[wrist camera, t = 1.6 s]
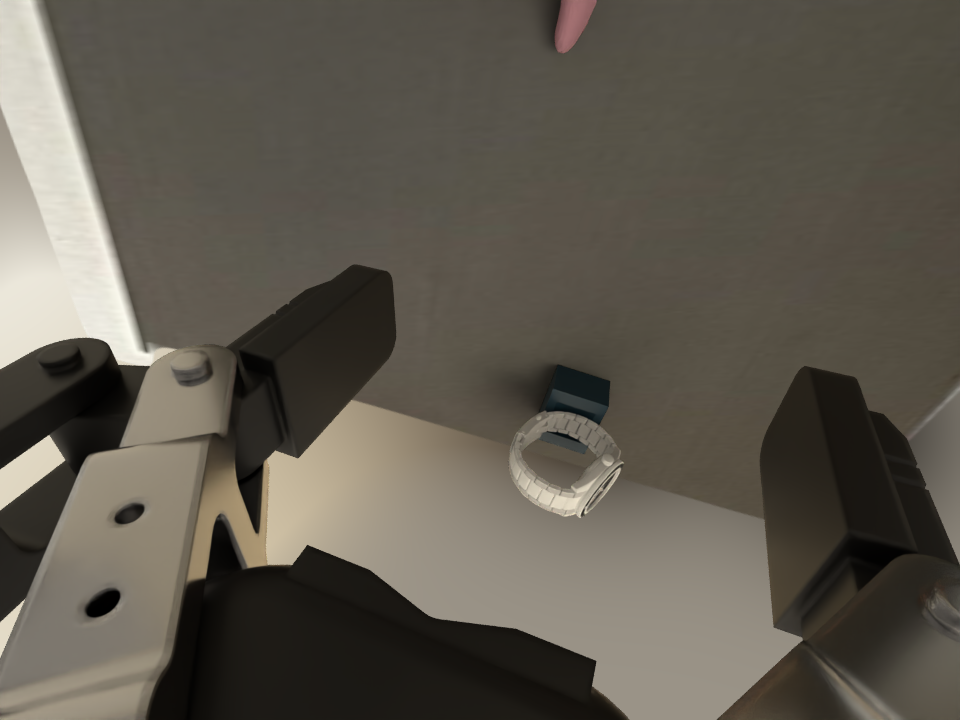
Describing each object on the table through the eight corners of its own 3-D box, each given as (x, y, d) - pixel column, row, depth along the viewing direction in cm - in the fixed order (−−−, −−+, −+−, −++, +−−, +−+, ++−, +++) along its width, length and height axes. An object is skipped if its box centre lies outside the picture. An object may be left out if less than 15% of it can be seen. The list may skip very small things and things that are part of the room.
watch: (608, 435, 44) (603, 545, 35) (519, 406, 44) (492, 507, 36) (634, 388, 41) (634, 496, 32) (537, 357, 41) (511, 455, 32)
